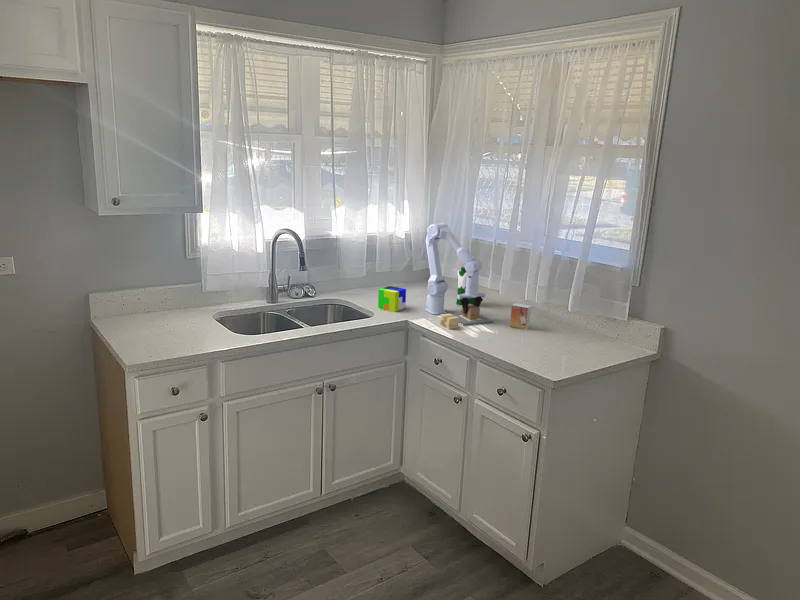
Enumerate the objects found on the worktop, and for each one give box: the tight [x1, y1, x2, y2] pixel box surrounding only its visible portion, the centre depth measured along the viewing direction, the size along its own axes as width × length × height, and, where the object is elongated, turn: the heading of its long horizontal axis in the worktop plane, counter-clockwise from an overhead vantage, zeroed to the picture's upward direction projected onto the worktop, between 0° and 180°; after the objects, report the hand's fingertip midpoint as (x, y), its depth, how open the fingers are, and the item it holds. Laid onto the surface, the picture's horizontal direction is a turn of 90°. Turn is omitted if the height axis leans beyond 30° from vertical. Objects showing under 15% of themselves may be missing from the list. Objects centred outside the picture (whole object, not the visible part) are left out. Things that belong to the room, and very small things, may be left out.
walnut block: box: [460, 304, 481, 319], centre depth 292 cm, size 8×5×5 cm, turn 26°
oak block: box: [439, 313, 460, 330], centre depth 280 cm, size 8×5×5 cm, turn 26°
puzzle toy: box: [377, 285, 407, 313], centre depth 307 cm, size 10×10×10 cm
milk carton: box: [455, 266, 474, 306], centre depth 318 cm, size 9×9×20 cm
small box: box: [509, 302, 532, 331], centre depth 283 cm, size 8×6×10 cm
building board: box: [451, 313, 494, 326], centre depth 293 cm, size 16×16×1 cm
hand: (470, 312), depth 292 cm, fingers closed on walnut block, 5 cm apart
